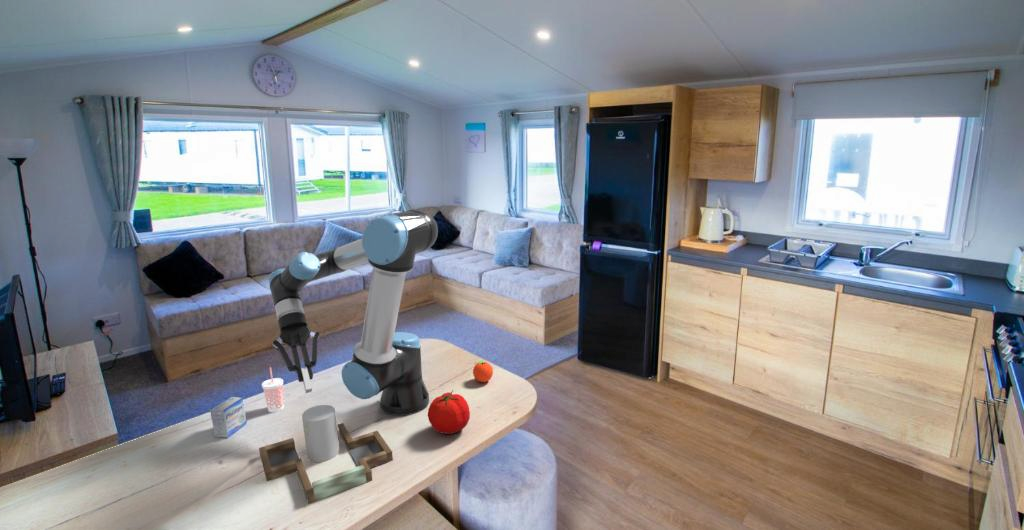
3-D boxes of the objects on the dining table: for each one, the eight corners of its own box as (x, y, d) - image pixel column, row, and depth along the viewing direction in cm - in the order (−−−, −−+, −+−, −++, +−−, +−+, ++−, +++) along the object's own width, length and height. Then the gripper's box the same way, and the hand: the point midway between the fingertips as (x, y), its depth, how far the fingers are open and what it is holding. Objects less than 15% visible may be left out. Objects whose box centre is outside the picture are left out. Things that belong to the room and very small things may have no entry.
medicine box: (227, 438, 144) (223, 410, 142) (214, 437, 145) (209, 409, 143) (247, 423, 152) (243, 397, 150) (234, 422, 153) (229, 396, 151)
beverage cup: (276, 414, 156) (270, 372, 153) (260, 411, 158) (254, 370, 155) (291, 405, 162) (285, 364, 159) (275, 402, 164) (269, 362, 161)
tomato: (468, 417, 153) (467, 383, 150) (472, 439, 142) (470, 402, 139) (428, 422, 151) (426, 387, 148) (428, 444, 140) (426, 407, 137)
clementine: (467, 380, 177) (466, 361, 175) (482, 373, 181) (482, 355, 180) (481, 387, 171) (481, 368, 170) (497, 381, 176) (496, 362, 174)
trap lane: (367, 423, 151) (366, 411, 150) (399, 470, 129) (398, 456, 128) (260, 456, 136) (258, 442, 135) (275, 515, 114) (273, 500, 113)
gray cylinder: (312, 445, 140) (307, 405, 137) (342, 443, 141) (338, 404, 138) (303, 463, 132) (297, 421, 130) (335, 461, 133) (330, 420, 130)
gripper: (313, 318, 158) (331, 389, 148) (267, 327, 151) (283, 402, 141) (315, 307, 152) (334, 379, 142) (267, 315, 145) (284, 392, 136)
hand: (308, 390), depth 142 cm, fingers closed
